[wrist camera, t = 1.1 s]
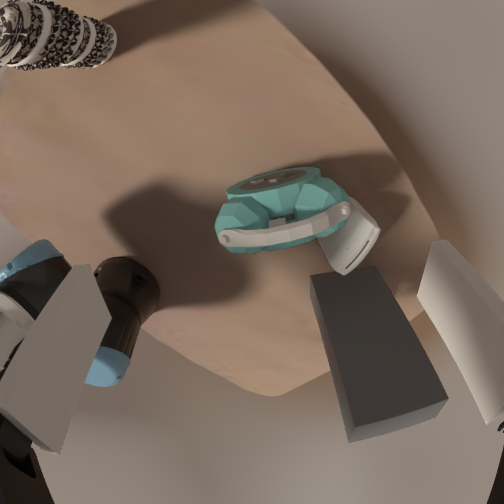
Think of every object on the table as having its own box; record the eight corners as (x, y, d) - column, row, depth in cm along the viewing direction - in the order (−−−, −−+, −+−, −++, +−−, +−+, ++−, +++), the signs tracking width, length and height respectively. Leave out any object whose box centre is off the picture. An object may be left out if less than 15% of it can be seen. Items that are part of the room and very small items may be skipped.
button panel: (310, 275, 59) (354, 427, 30) (375, 266, 58) (448, 398, 30) (310, 296, 62) (348, 442, 33) (372, 287, 61) (435, 417, 33)
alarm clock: (232, 225, 53) (227, 298, 36) (216, 175, 48) (201, 229, 31) (328, 202, 51) (369, 264, 34) (318, 150, 46) (363, 190, 29)
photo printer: (344, 191, 50) (370, 220, 39) (362, 203, 51) (390, 234, 41) (311, 236, 54) (328, 274, 44) (329, 246, 56) (348, 285, 45)
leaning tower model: (107, 11, 32) (16, -25, 10) (127, 49, 36) (35, 29, 15) (66, 42, 33) (-37, 36, 12) (84, 80, 38) (-20, 92, 16)
